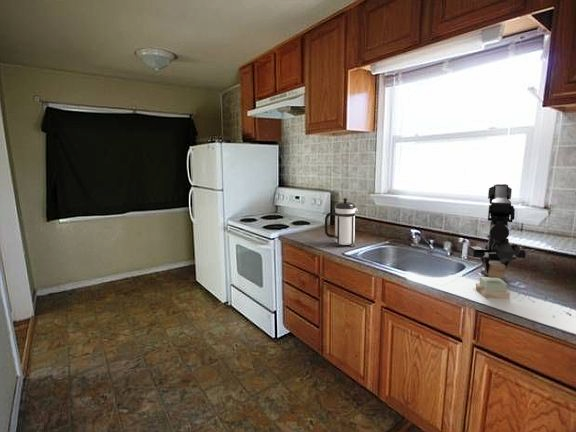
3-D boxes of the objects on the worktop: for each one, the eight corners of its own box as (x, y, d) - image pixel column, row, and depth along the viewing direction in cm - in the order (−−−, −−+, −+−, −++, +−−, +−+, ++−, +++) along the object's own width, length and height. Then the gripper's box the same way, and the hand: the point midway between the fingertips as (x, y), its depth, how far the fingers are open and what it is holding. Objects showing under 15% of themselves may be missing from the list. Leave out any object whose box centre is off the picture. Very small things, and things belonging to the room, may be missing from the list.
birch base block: (475, 290, 132) (476, 283, 131) (497, 290, 130) (498, 283, 130) (485, 298, 123) (486, 291, 123) (508, 299, 122) (509, 292, 122)
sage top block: (479, 283, 130) (480, 276, 130) (498, 284, 129) (499, 277, 128) (486, 290, 124) (487, 283, 123) (506, 291, 122) (507, 284, 122)
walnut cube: (484, 273, 128) (485, 261, 127) (497, 273, 127) (498, 261, 126) (490, 277, 123) (491, 265, 122) (504, 278, 122) (505, 265, 121)
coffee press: (343, 240, 212) (344, 195, 207) (361, 245, 199) (362, 198, 194) (323, 244, 203) (323, 198, 197) (341, 250, 190) (342, 200, 184)
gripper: (481, 239, 115) (478, 280, 118) (537, 240, 113) (532, 281, 116) (468, 232, 126) (465, 269, 129) (519, 232, 124) (515, 270, 127)
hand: (494, 272), depth 125 cm, fingers closed on walnut cube, 5 cm apart
